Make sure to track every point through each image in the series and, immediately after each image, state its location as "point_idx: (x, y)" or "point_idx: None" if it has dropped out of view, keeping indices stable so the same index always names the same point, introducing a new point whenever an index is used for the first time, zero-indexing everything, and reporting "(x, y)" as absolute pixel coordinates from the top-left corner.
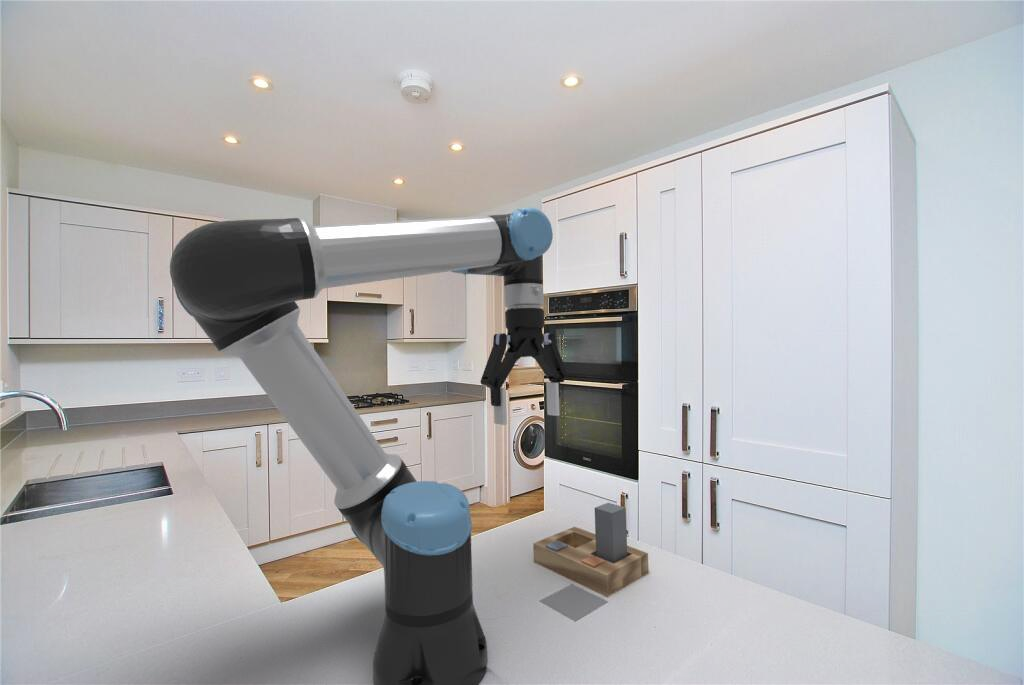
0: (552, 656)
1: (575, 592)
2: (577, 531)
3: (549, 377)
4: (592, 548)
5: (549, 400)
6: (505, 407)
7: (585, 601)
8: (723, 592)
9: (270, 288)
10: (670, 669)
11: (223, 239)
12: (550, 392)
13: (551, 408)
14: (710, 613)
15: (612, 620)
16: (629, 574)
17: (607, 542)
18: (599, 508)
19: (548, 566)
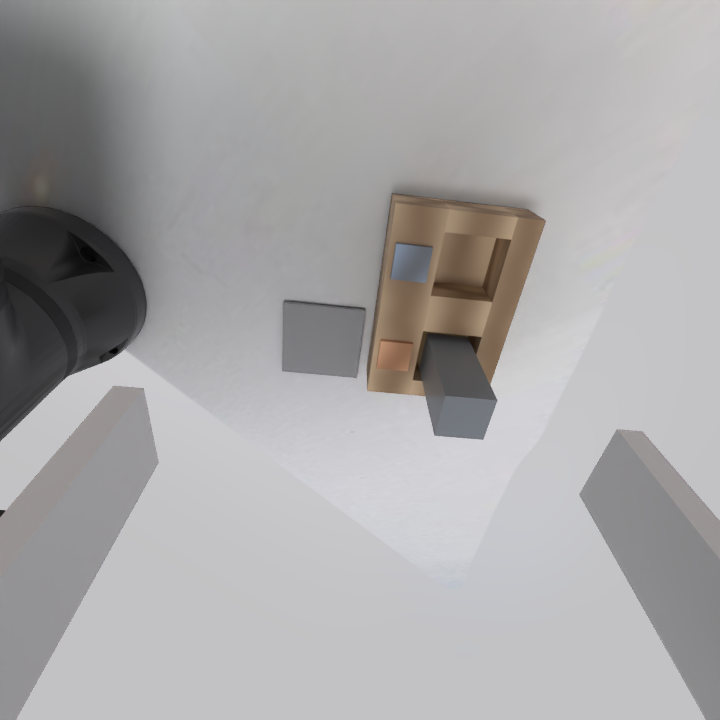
0: (213, 381)
1: (345, 330)
2: (518, 246)
3: None
4: (448, 322)
5: (668, 541)
6: (95, 560)
7: (334, 355)
8: (482, 457)
9: None
10: (295, 466)
11: None
12: (713, 624)
13: (621, 499)
14: (421, 461)
15: (328, 394)
16: None
17: (427, 382)
18: (447, 405)
19: (385, 244)
